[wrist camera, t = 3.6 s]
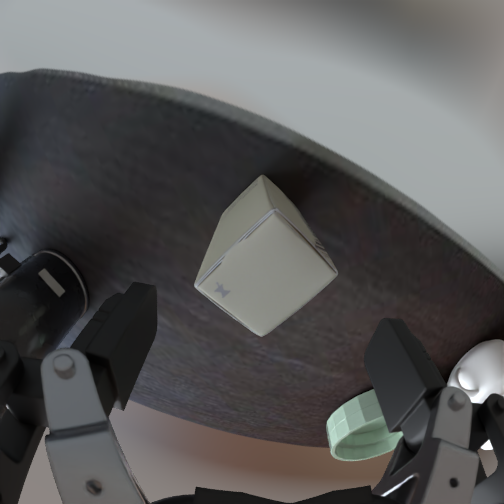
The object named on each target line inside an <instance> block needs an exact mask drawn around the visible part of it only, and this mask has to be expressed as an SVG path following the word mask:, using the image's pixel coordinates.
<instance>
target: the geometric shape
mask: <svg viewBox="0 0 504 504" xmlns="http://www.w3.org/2000/svg"><path fill="white" fill-rule="evenodd" d="M481 448H482V449H484V450H491V449H493V447H492V445H491V443H490V440H488V441H487V442H486V443H485V444H484V445H483V446H482V447H481Z"/></svg>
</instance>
